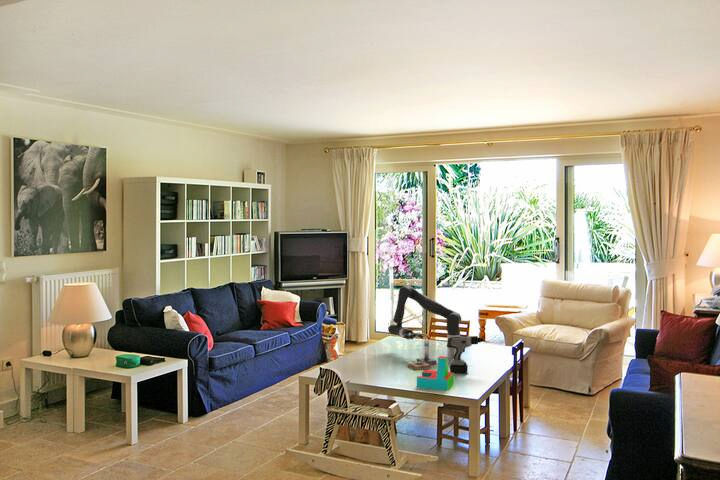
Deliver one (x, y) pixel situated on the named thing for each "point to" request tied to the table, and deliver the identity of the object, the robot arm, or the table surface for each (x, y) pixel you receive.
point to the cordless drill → (461, 351)
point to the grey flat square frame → (427, 361)
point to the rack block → (419, 365)
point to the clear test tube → (426, 350)
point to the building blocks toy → (437, 377)
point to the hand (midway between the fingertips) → (417, 337)
